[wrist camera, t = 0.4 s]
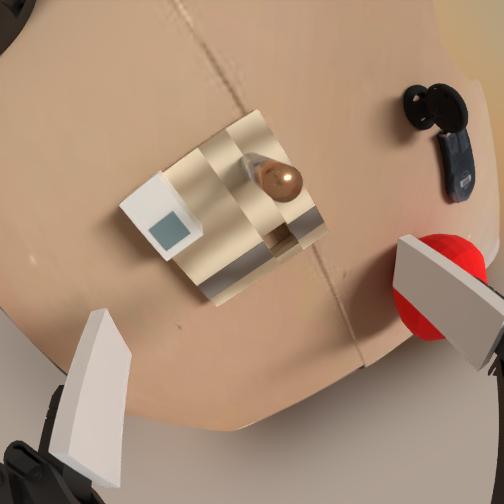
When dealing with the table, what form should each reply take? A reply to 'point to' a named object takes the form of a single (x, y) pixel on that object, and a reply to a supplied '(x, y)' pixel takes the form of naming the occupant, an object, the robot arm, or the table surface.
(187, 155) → the panel
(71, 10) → the table surface
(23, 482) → the robot arm
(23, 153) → the table surface
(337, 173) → the table surface
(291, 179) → the silver and copper cylinder
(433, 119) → the webcam
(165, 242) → the block
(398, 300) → the vase
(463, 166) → the electronic device
